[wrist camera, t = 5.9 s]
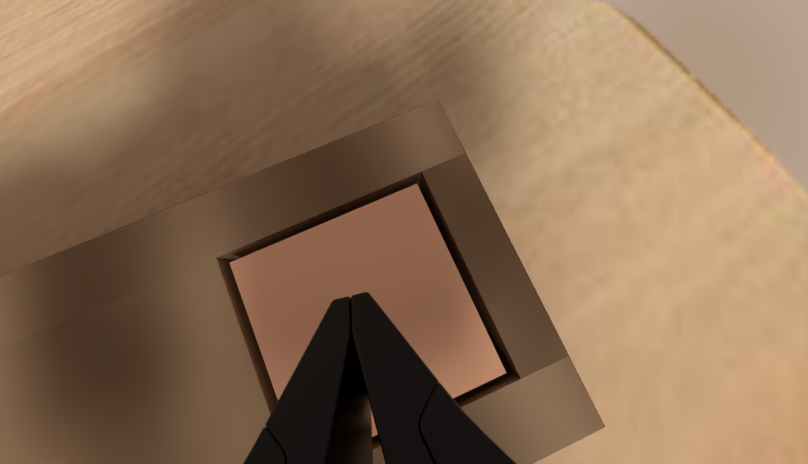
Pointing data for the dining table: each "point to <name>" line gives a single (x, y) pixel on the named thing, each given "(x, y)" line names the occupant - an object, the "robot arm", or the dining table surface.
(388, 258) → the salmon pink block
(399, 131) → the brown striped box
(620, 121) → the dining table surface
